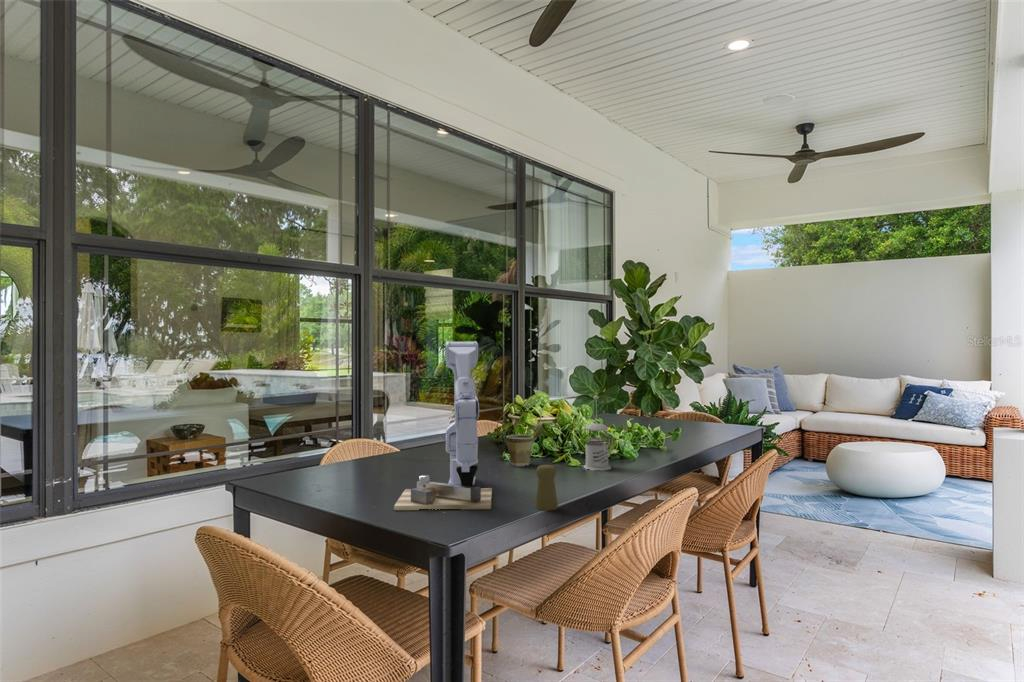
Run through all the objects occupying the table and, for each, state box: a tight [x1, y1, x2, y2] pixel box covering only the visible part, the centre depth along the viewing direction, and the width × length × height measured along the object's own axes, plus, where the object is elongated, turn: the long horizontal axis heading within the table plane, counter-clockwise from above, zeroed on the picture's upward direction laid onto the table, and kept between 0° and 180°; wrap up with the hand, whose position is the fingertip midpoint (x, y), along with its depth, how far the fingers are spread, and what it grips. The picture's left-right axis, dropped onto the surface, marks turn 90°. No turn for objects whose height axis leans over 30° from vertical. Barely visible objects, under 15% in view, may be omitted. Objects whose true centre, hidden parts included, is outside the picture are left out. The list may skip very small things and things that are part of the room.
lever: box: [416, 474, 481, 502], centre depth 164 cm, size 20×3×5 cm, turn 62°
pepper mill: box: [534, 464, 559, 511], centre depth 158 cm, size 6×6×11 cm
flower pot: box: [505, 433, 535, 467], centre depth 217 cm, size 13×10×10 cm
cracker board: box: [393, 487, 493, 511], centre depth 166 cm, size 18×25×1 cm
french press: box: [582, 395, 614, 471], centre depth 210 cm, size 10×12×25 cm
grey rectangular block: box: [410, 486, 433, 505], centre depth 160 cm, size 2×6×3 cm, turn 51°
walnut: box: [425, 486, 437, 499], centre depth 162 cm, size 4×4×4 cm
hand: (467, 493), depth 164 cm, fingers closed
